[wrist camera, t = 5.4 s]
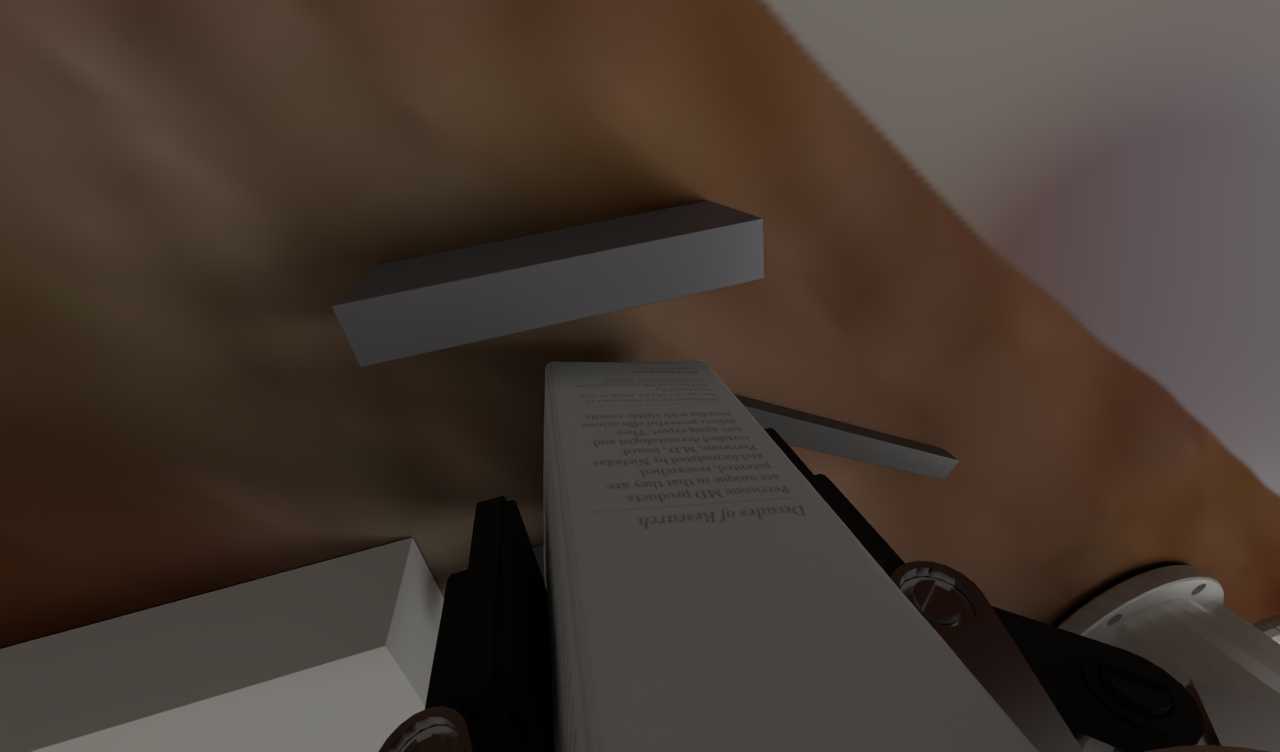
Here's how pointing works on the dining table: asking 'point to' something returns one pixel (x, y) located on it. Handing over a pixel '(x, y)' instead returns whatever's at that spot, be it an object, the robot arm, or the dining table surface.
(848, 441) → the dark grey bars
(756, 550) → the skincare box
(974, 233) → the dining table surface
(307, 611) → the socket
